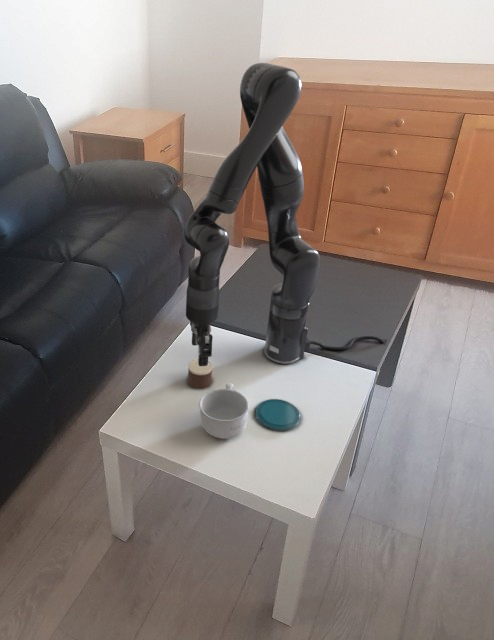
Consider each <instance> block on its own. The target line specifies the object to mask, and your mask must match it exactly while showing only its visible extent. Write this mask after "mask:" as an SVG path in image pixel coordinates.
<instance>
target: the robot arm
mask: <svg viewBox="0 0 494 640" xmlns="http://www.w3.org/2000/svg"><path fill="white" fill-rule="evenodd" d="M301 92H302V80H301V76H300V75H299V73H298V72H297V71H296V70H295V69H292V68H291V67H290V68H289V67H286V66H282V65H278V64H273V63H268V62H257V63H254V64H252V65H250V66H249V67H248V68H247V69H246V70H245V72H244V73H243V75H242V78H241V80H240V84H239V97H240V102H241V106H242V109H243V114H244V116H245V119H246V122H247V126H248V129H249V130H248V131H247V133H246V134H245V136H243V138H242V140H241V141H240V142H239V143H238V144H237V146H235V148H233V149H232V150H231V152H230V153H229V154H227V156H226V157H225V158H224V159H223V161H222V162H221V163H220V165H219V166H218V168H217V170H216V172H215V175H214V177H213V179H212V181H211V184H210V186H209V187H208V191H207V193H206V195H205V197H204V198H203V199H202V200H201V202H199V204H198V205H197V207H196V208H195V209H194V211H193V212H192V213H191V214H190V216H189V218H188V219H187V221H186V223H185V227H184V230H183V235H184V240H185V242H186V243H187V244H188V245H189V246H191V247H193V248H194V249H195V250H197V251H198V252H199V255H198V256H195V257H194V258H192V259H191V260H190V262H189V264H188V277H187V288H186V301H185V318H186V319H187V320H188V321H189V325H190V331H191V346H194V347H195V346H197V348H198V349H197V350H198V358H197V359H198V364H199V366H207V365H208V361H209V358H210V357H212V355H213V353H212V352H213V334H212V333H211V332H212V325H211V324H212V323H214V322H216V321H217V319H218V316H219V305H220V277H221V276H220V275H221V269H222V265H223V264H224V260H225V258H226V255H227V253H228V250H229V247H230V236H229V233H228V231H227V229H226V228H225V227H224V226H222V225H220V224H218V223H217V222H216V221H217V220H218V218H219V217H220V216H221V215H222V214H224V215H232V214H234V213H235V212H236V210H237V208H238V206H239V205H240V202H241V200H242V198H243V196H244V194H245V191H246V189H247V187H248V185H249V183H250V181H251V178H252V176H253V175H254V172H255V170H256V169H257V176H258V181H259V186H260V193H261V198H262V202H263V208H264V214H265V219H266V224H267V233H268V235H267V236H268V253H269V254H268V255H269V260H270V262H271V265H272V266H273V268H274V269H275V270H277V271H278V273H280V274H281V275H282V276H283V279H282V282H278V283H276V284H275V285H274V286H273V287H272V290H271V295H270V303H269V312H268V321H267V329H266V337H265V345H264V355H265V357H266V358H267V359H268V360H270V361H271V362H274V363H276V364H282V365H290V364H294V363H296V362H298V361H299V360H302V359H304V356H305V353H306V352H310V347H311V345H316V346H318V347H320V348H322V349H325V350H329V351H346V350H348V349H350V348H351V347H352V346H353V345H354V343H356V342H358V341H363V340H374V341H378V342H379V343H381V344H386V342H385V340H384V339H383V338H381V337H380V336H379V337H378V336H375V335H363V336H357V337H354V338H352V339H351V340H350V341H349V343H348V344H347V345H345V346H331V345H325V344H323V343H322V342H320V341H317V340H310V339H309V338H308V331H309V330H308V327H307V317H308V310H309V305H310V299H311V297H312V296H313V294H314V293H315V290H316V286H317V281H318V277H319V272H320V268H321V257H320V254H319V252H318V251H317V250H316V249H315V248H314V247H313V246H311V245H310V244H308V242H306V241H305V240H304V239H303V238H302V236H301V234H300V229H299V226H298V225H299V224H298V212H299V209H300V207H301V204H302V202H303V200H304V196H305V181H304V172H303V166H302V163H301V160H300V157H299V155H298V153H297V151H296V149H295V147H294V145H293V143H292V141H291V140H290V137H288V134H287V133H286V130H285V128H284V125H285V123H286V122H287V120H288V118H289V117H290V115H291V113H292V112H293V110H294V109H295V107H296V105H297V103H298V101H299V98H300V95H301Z"/></svg>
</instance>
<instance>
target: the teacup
mask: <svg viewBox="0 0 494 640" xmlns="http://www.w3.org/2000/svg"><path fill="white" fill-rule="evenodd" d="M198 403H199V404H198V405H199V410H200V411H199V414H200V415H199V417H200V422H201V425H202V427H203V429H204V430H205V431H206V432H207V434H209V435H210V436H212V437H215V438H217V439H232V438H235V437H237V436H239V435H241V433H243V431H244V430H245V428H246V426H247V422H248V415H249V414H248V413H249V412H248V411H249V401H248V399H247V398H246V397H245V396H244V395H243V394H242V393H241V392H238V391H237V390H234V384H233V383H230V382H228V383H226V385H225V388H216V389H212V390H209V391H207V392H206V393H204V394H203V395H202V396H201V398H200V399H199V402H198Z"/></svg>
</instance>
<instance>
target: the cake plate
mask: <svg viewBox="0 0 494 640" xmlns="http://www.w3.org/2000/svg"><path fill="white" fill-rule="evenodd" d="M255 417H256V420H257V421H258V422H259V423H260V424H261V425H262V426H263V427H265V428H267V429H270V430H272V431H278V432H285V431H291V430H292V429H295V428H296V427H297V426H298V424H299V423H300V421H301V413H300V411H299V409H298V408H297V407H296V406H295V405H294V404H293V403H290V402H288V401H286V400H284V399H279V398H271V399H266V400H264V401H262V402H260V403H259V404H258V405H257V407H256V408H255Z"/></svg>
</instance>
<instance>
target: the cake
mask: <svg viewBox="0 0 494 640" xmlns="http://www.w3.org/2000/svg"><path fill="white" fill-rule="evenodd" d="M198 359H199V358H194V359H192V360H191V361H189V362H188V364H187V371H188V372H187V383H188V385H189V386H191V387H192V388H195V389H201V390H202V389H205V388H206V389H207V388H208V387H209V386H211V384H212V380H213V379H212V378H213V364H212V362H211V361H210V360H208V365H207V366H199V364H198Z"/></svg>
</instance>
